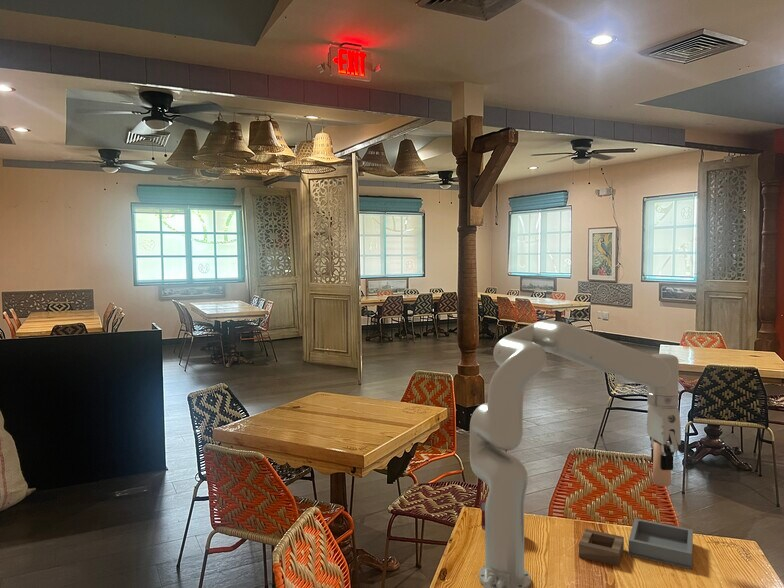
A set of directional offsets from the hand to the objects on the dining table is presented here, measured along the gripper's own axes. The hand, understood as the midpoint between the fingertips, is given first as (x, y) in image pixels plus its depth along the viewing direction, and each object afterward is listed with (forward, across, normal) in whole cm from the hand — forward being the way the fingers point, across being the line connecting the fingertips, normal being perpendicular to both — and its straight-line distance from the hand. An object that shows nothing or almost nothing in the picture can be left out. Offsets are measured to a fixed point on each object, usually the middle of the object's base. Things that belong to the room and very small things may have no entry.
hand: (662, 465), depth 150 cm
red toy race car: (+24, +9, +42) cm, 49 cm away
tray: (+23, 0, 0) cm, 23 cm away
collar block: (+23, -2, +17) cm, 29 cm away
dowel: (+5, 0, 0) cm, 5 cm away
